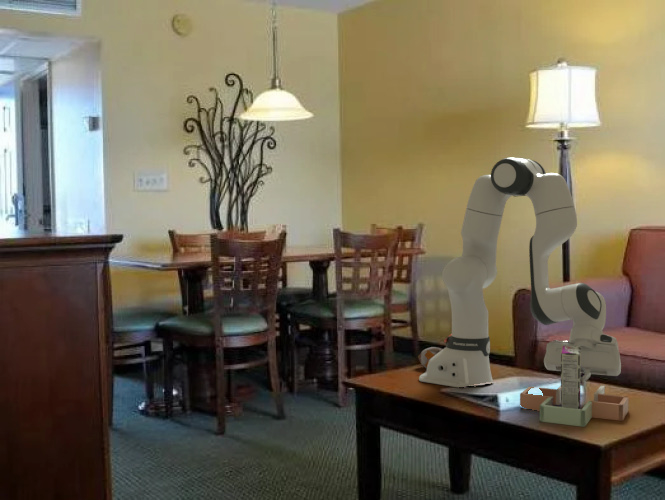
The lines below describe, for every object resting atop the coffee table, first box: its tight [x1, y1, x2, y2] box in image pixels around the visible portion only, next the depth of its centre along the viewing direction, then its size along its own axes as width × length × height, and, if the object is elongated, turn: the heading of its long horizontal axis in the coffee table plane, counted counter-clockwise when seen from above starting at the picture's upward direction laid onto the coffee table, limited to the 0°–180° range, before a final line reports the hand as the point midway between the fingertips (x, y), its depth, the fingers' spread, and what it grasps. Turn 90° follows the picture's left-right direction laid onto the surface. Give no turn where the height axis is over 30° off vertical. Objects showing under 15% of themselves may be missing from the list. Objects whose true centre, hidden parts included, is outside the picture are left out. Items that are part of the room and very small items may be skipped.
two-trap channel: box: [519, 385, 629, 428], centre depth 210 cm, size 26×30×4 cm
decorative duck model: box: [417, 346, 444, 369], centre depth 264 cm, size 15×8×15 cm
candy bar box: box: [560, 346, 582, 409], centre depth 209 cm, size 11×5×16 cm, turn 162°
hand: (578, 384), depth 214 cm, fingers closed
